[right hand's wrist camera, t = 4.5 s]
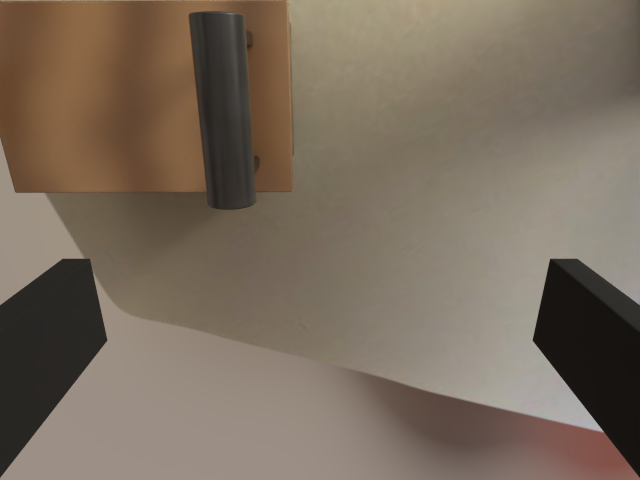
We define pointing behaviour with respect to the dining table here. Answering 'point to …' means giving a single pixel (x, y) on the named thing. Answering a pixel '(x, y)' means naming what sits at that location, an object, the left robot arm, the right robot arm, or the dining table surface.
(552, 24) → the dining table surface
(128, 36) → the lid
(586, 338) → the right robot arm
